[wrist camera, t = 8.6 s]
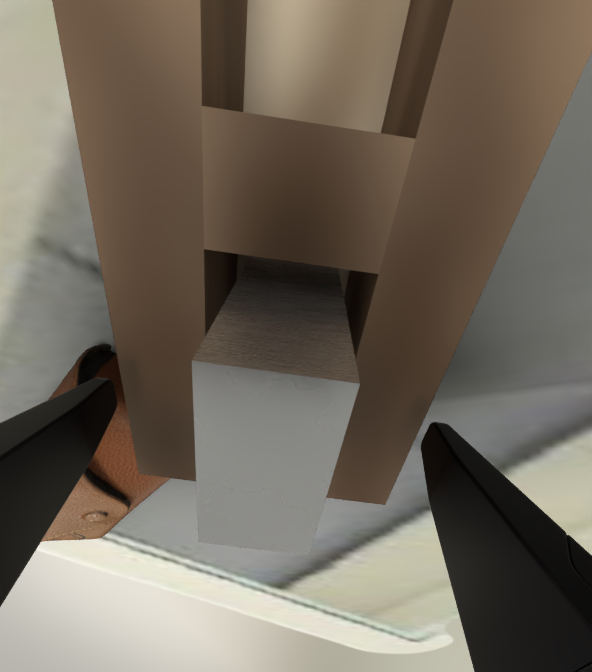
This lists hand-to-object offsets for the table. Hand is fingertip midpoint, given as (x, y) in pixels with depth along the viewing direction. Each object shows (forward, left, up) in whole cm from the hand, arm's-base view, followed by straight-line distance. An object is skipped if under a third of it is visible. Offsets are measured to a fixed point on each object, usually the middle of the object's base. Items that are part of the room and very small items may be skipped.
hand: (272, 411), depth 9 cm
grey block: (0, 0, -6) cm, 6 cm away
